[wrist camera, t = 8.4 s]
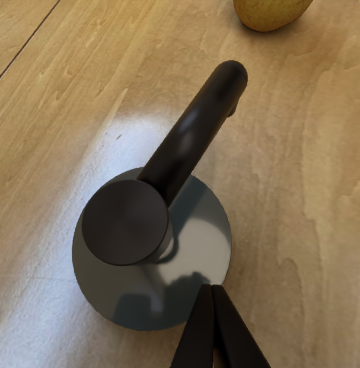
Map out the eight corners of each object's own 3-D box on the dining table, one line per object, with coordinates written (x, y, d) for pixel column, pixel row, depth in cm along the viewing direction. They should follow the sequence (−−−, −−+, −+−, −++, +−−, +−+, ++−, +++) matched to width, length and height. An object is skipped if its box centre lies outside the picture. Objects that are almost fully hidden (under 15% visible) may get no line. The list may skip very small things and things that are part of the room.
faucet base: (244, 311, 16) (273, 335, 11) (80, 338, 16) (25, 376, 10) (212, 163, 20) (221, 127, 15) (81, 183, 20) (42, 153, 14)
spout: (149, 279, 12) (134, 286, 9) (96, 242, 13) (62, 234, 9) (253, 108, 16) (272, 63, 12) (207, 87, 16) (212, 39, 13)
